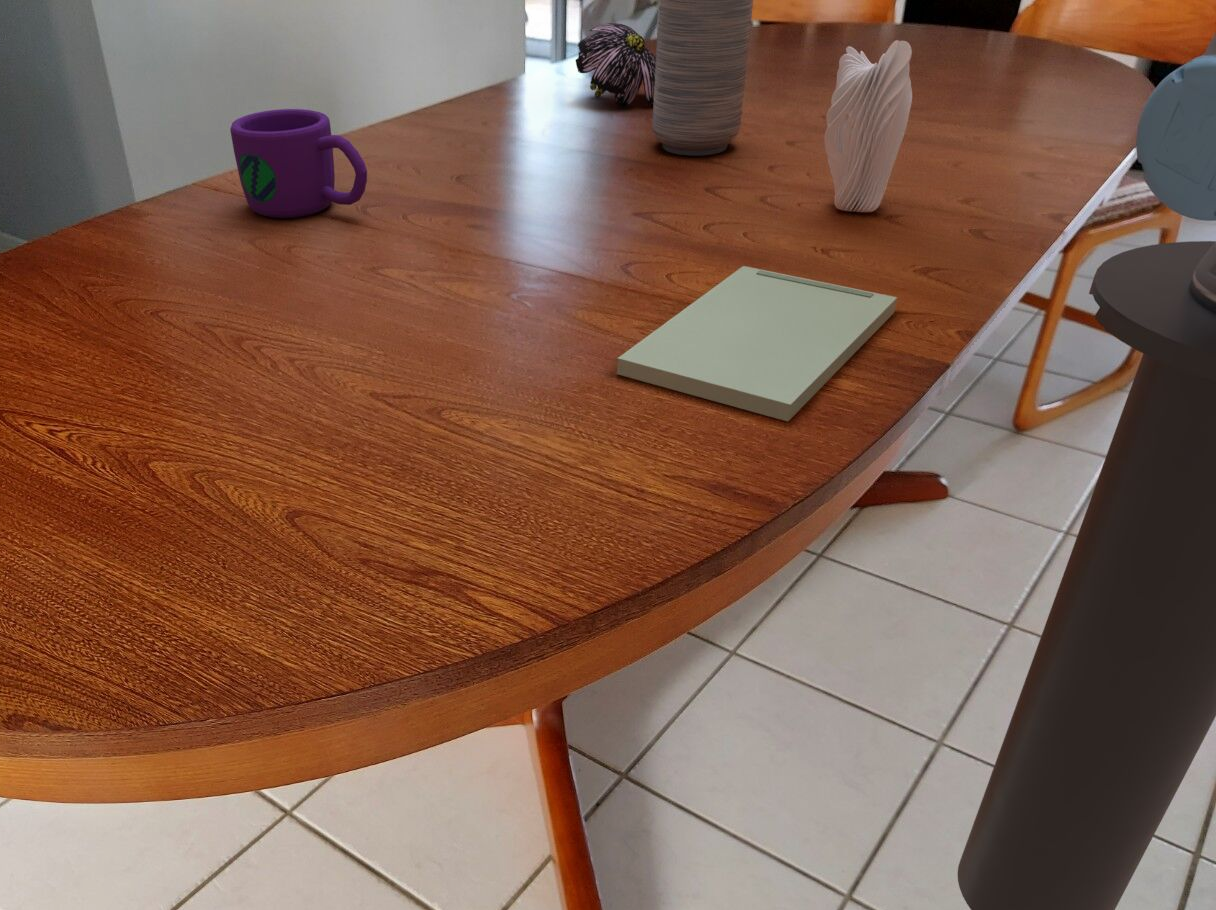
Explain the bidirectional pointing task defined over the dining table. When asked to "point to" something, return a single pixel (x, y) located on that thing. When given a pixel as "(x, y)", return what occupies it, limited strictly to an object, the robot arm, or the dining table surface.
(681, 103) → the vase
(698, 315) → the cutting board
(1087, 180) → the dining table surface
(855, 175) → the shell sculpture
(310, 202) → the mug
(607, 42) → the decorative flower
